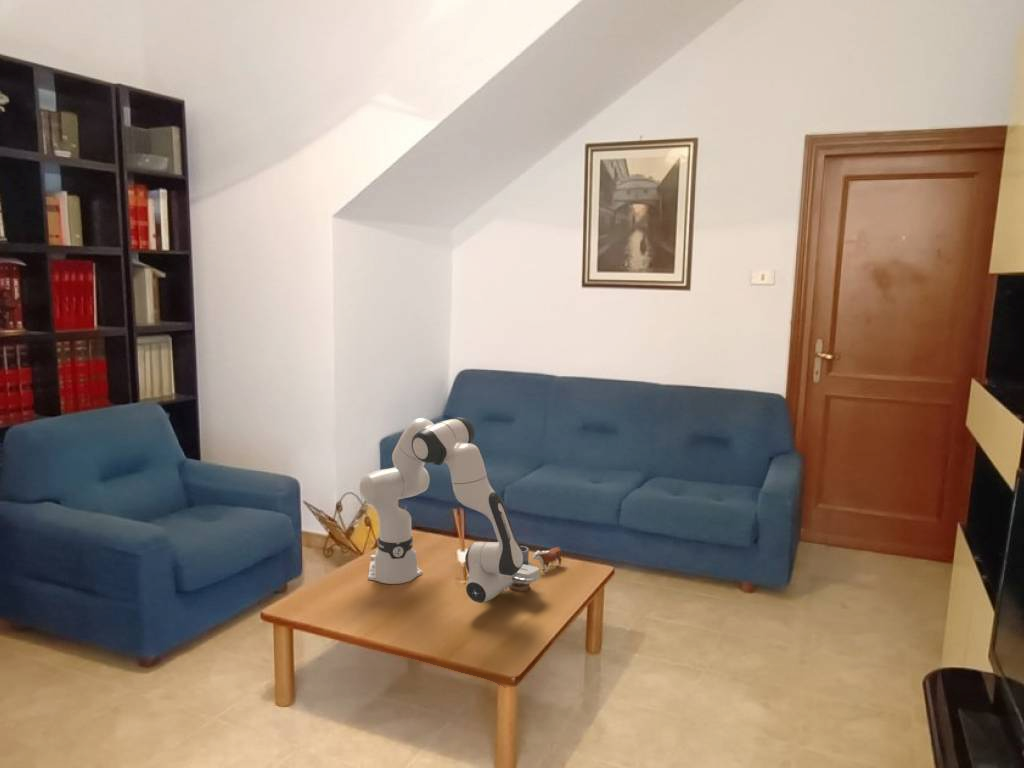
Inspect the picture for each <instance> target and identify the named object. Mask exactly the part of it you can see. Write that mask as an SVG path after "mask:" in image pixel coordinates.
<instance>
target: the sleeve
mask: <svg viewBox="0 0 1024 768" xmlns="http://www.w3.org/2000/svg"><path fill="white" fill-rule="evenodd" d="M519 546H520V548H521V550H522V552H523V557H524V560H523V564H525V565H526V563H527V562H529V553H530V552H529V551H530V550H529V547H527V546H525V545H524V546H523V545H519ZM514 583H519V582H515V581H514Z"/></svg>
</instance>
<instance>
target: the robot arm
mask: <svg viewBox="0 0 1024 768" xmlns="http://www.w3.org/2000/svg"><path fill="white" fill-rule="evenodd" d="M475 433H476V432H475V429H474V426H473V425H472V422H471V421H470V420H468V418H465V417H452V418H448V419H446V420H442V421H439V422H436V423H434V422H432V421H431V420H429V419H427V418H424V417H418V418H415V419H414V420H412V421H411V422H410V423H409V425H408V426H406V428H405V430H404V431H403V432H402V434H401V436H400V438H399V439H398V442H397V443H396V446H395V447H394V450H393V452H392V454H391V460H392V463H393V466H392V467H390V468H384V469H379V470H378V469H377V470H375V471H372V472H369V473H367V474H365V475H363V476H362V477H361V480H360V482H359V492H360V495H361V497H362V499H363V500H364V501H365V502H367V503H368V504H370V505H371V506H372V507H373V508H374V510H375V512H376V514H377V518H378V534H379V535H378V538H377V548H376V551H375V554H371V555H370V562H369V568H368V569H369V571H368V576H367V578H368V580H369V581H376V582H379V583H382V584H390V585H398V584H404V583H409V582H411V581H413V580H414V579H415V578H417V577H418V576H421V575H422V574H423V570H422V569H421V568H419V567H418V554H417V551H416V550H415V549H414V548H413V545H414V540H413V535H412V516H411V514H410V513H409V511H407V510H406V509H403V508H401V507H399V500H403V499H406V498H411V497H415V496H419V495H420V494H422V493H424V492H426V491H427V490H428V488H429V486H430V480H431V477H430V474H429V472H428V470H427V469H426V468H425V464H426V463H427V464H434V466H435V465H436V466H441V465H442V464H443V463H445V464H446V466H447V467H448V469H449V474H450V480H451V484H452V490H453V494H454V496H455V498H456V500H457V501H458V502H459V503H460V504H462V506H465V507H467V508H469V509H471V510H474V511H477V512H479V513H481V514H483V515H484V516H486V517H487V518H488V519H489V521H490V522H491V524H492V528H493V531H494V533H495V536H496V539H497V541H493V542H492V541H474V542H473V543H472V544H470V546H469V547H468V549H467V551H466V553H465V557H464V558H465V559H464V561H465V567H466V569H467V572H468V579H467V582H466V585H465V592H466V594H467V596H468V598H470V600H472V601H474V602H476V603H479V604H483V603H486V602H488V601H491V600H492V599H494V598H495V597H497V596H499V594H501V593H503V592H504V591H505V590H507V589H508V588H509V587H510V586H511V585H512V584H513V582H514V581H515V582H519V583H524V584H529V585H530V584H532V583H534V582H536V581H538V580H540V577H541V570H540V568H539V567H537V566H533V562H531V561H528V562H527V563H526V565H525V564H523V560H524V557H523V552H522V550H521V548H520V546H521V545H520V544H519V542H518V540H517V538H516V535H515V532H514V530H513V529H514V528H513V527H512V524H511V520H510V518H509V515H508V512H507V509H506V507H505V504H504V501H503V500H502V497H501V496H500V495H499V494H498V493H496V491H495V490H494V489H493V488H492V485H491V483H490V481H489V478H488V475H487V471H486V465H485V463H484V459H483V457H482V454H481V452H480V449H479V447H478V446H477V445H475V444H473V442H474V440H475V437H476V436H475Z"/></svg>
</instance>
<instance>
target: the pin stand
mask: <svg viewBox="0 0 1024 768" xmlns="http://www.w3.org/2000/svg"><path fill="white" fill-rule="evenodd" d="M508 588H509V589H510V590H512V591H516V592H524V591H527V590H529V589H530V584H524V583H514V582H513V584H512V585H511V586H510V587H508Z"/></svg>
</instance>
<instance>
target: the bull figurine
mask: <svg viewBox="0 0 1024 768" xmlns="http://www.w3.org/2000/svg"><path fill="white" fill-rule="evenodd" d="M561 557H562V549H561V548H560V546H557V547H554V548H551V549H548V550H542V551H540V550H536V551H535V552H534V555H533V556H532V559H533V560H536V561H539V563H540V564H541V566H542V568H541V571H543V573H544V574H547V573H548V568H549V567H550V568H551V567H553V564H554V563H555V562H556V561H558V566H557V567H558V568H561V565H562V564H561V563H562V558H561Z"/></svg>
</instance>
